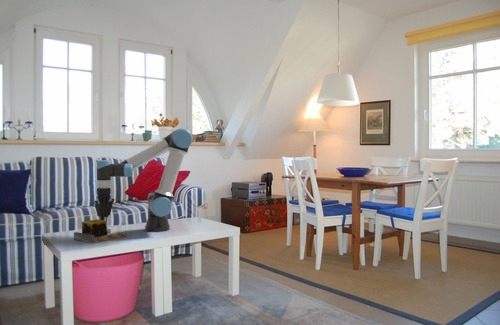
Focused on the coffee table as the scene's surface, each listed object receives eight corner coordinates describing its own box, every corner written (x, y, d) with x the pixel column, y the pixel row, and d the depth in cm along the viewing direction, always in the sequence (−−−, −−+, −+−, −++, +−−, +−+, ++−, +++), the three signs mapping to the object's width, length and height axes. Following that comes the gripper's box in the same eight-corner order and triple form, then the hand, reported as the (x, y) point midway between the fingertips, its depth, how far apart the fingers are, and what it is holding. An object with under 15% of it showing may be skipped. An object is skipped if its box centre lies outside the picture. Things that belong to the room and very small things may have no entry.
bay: (109, 232, 238) (108, 226, 238) (126, 235, 229) (126, 229, 229) (73, 239, 219) (73, 232, 219) (92, 243, 210) (91, 235, 210)
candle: (91, 242, 213) (90, 223, 212) (81, 239, 219) (80, 221, 218) (108, 238, 221) (107, 220, 220) (97, 236, 227) (97, 219, 227)
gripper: (108, 186, 233) (109, 225, 234) (90, 187, 222) (90, 229, 224) (117, 186, 229) (117, 227, 230) (98, 188, 218) (98, 231, 219)
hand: (103, 228), depth 227 cm, fingers closed
